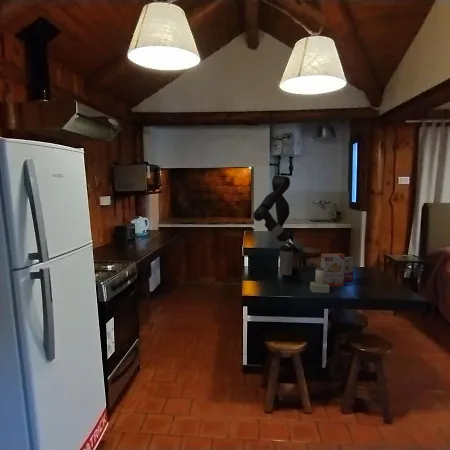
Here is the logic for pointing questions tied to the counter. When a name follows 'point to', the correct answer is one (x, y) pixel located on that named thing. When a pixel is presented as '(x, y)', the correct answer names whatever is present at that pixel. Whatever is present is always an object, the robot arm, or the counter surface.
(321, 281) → the jar
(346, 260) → the candy bar box
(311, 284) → the base
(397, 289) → the counter surface
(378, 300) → the counter surface
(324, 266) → the cracker box
